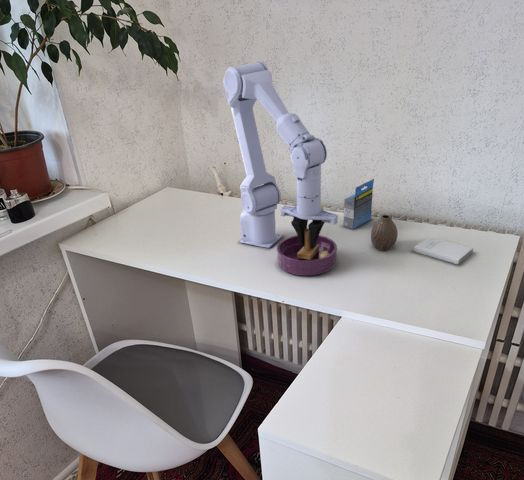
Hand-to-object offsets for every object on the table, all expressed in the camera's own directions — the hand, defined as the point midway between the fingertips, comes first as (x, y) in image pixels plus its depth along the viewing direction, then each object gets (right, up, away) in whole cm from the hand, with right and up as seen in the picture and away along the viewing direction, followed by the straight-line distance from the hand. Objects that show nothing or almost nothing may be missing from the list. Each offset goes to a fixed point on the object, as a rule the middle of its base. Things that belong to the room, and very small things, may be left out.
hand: (308, 246), depth 129 cm
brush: (0, -3, +3) cm, 4 cm away
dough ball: (+4, -3, +1) cm, 5 cm away
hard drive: (+35, -1, +3) cm, 35 cm away
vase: (+21, +1, +8) cm, 22 cm away
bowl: (0, -4, +3) cm, 5 cm away
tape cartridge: (+16, +11, +21) cm, 29 cm away
